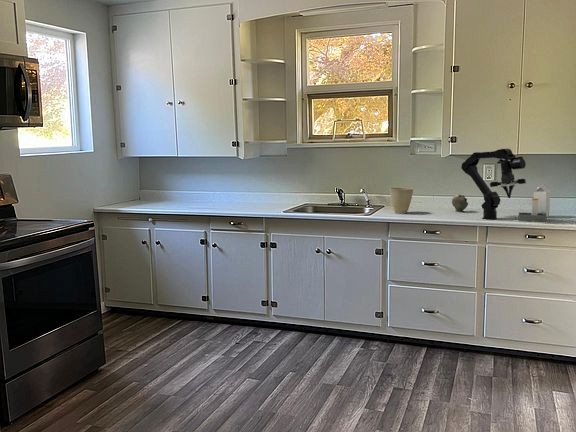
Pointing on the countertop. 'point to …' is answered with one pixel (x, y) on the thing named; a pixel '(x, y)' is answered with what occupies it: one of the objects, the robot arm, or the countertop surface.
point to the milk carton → (543, 199)
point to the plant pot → (401, 199)
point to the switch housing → (533, 217)
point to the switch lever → (534, 206)
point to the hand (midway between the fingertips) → (509, 198)
